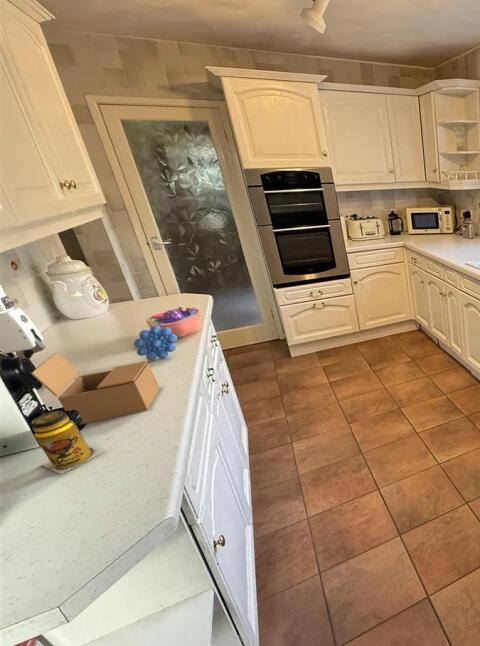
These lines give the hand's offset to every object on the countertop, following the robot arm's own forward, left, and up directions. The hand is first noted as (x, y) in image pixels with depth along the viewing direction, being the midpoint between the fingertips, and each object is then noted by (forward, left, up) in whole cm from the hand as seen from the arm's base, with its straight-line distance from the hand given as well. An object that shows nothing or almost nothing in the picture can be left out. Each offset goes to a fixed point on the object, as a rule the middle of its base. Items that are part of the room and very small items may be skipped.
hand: (28, 375), depth 99 cm
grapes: (+16, +33, -14) cm, 39 cm away
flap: (+5, 0, -1) cm, 5 cm away
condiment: (+11, -24, -14) cm, 30 cm away
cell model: (+18, +55, -14) cm, 59 cm away
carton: (+13, 0, -14) cm, 19 cm away
